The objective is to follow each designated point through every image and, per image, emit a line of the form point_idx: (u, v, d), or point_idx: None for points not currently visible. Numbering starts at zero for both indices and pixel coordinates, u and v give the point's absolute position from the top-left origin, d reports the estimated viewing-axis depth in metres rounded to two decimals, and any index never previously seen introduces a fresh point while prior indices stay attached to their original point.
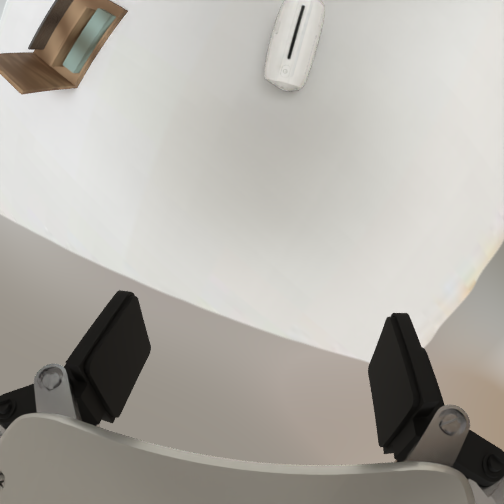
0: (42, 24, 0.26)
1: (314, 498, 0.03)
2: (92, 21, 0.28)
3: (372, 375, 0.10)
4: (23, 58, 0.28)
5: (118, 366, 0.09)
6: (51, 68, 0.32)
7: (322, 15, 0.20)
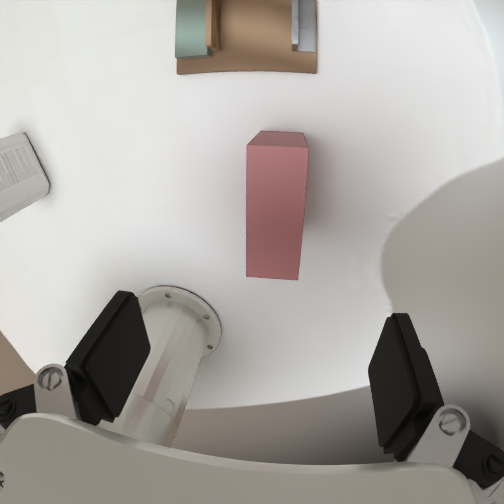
0: None
1: (315, 498, 0.03)
2: (200, 34, 0.21)
3: (372, 375, 0.10)
4: None
5: (118, 366, 0.09)
6: None
7: None
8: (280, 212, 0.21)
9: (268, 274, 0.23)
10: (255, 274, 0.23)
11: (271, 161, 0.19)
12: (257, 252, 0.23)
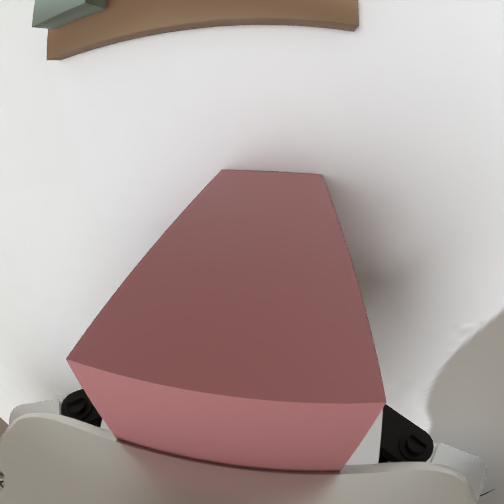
0: None
1: (315, 498, 0.03)
2: None
3: None
4: None
5: None
6: None
7: None
8: None
9: None
10: None
11: (189, 428, 0.04)
12: None
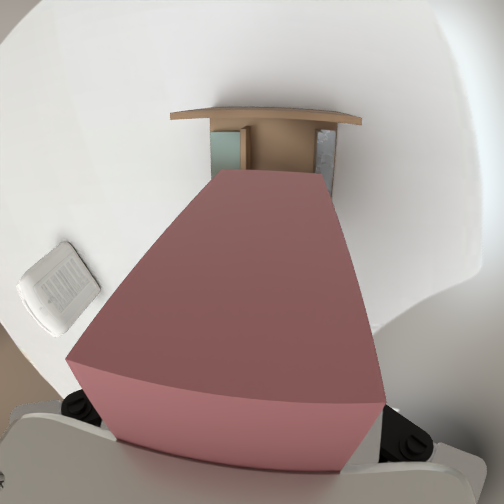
0: None
1: (314, 498, 0.03)
2: None
3: None
4: None
5: None
6: None
7: None
8: None
9: None
10: None
11: (188, 429, 0.04)
12: None
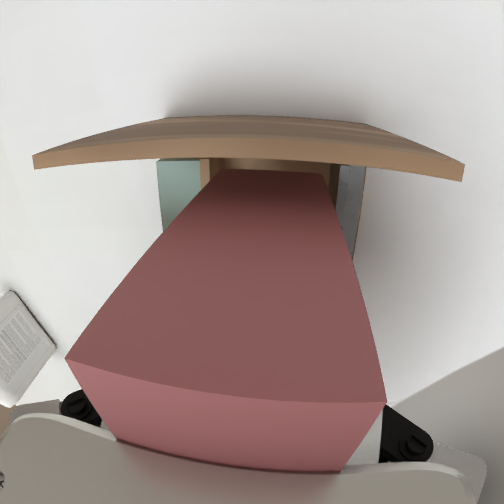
0: None
1: (315, 498, 0.03)
2: None
3: None
4: None
5: None
6: None
7: None
8: None
9: None
10: None
11: (188, 428, 0.04)
12: None
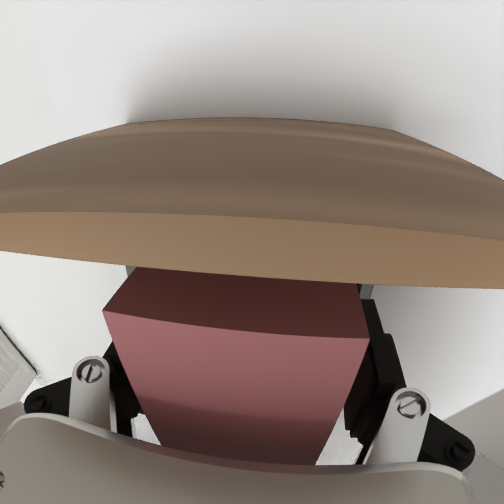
0: None
1: (315, 498, 0.03)
2: None
3: None
4: None
5: None
6: None
7: None
8: (249, 458, 0.06)
9: None
10: None
11: (205, 371, 0.05)
12: None
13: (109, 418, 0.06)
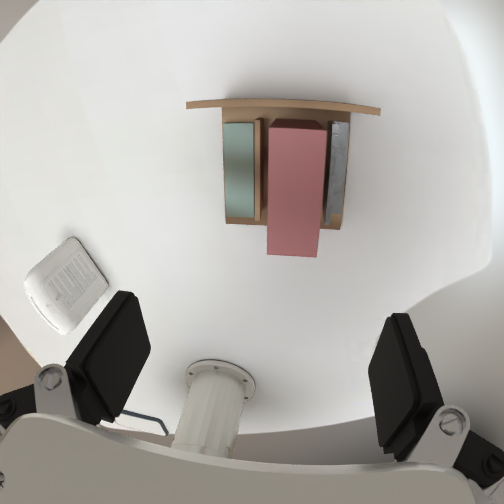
0: (331, 170, 0.27)
1: (315, 498, 0.03)
2: (247, 198, 0.32)
3: (372, 375, 0.10)
4: None
5: (118, 366, 0.09)
6: None
7: None
8: (300, 190, 0.22)
9: (288, 251, 0.24)
10: (275, 252, 0.24)
11: (292, 142, 0.20)
12: (278, 230, 0.23)
13: (75, 419, 0.06)
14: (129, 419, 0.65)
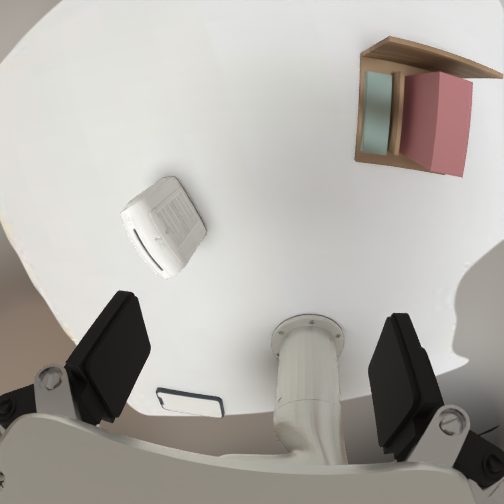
0: None
1: (315, 498, 0.03)
2: (382, 137, 0.32)
3: (372, 375, 0.10)
4: (454, 72, 0.24)
5: (118, 366, 0.09)
6: (410, 65, 0.27)
7: None
8: (456, 121, 0.22)
9: (445, 170, 0.24)
10: (437, 169, 0.25)
11: (453, 85, 0.20)
12: (440, 150, 0.24)
13: (76, 419, 0.06)
14: (182, 401, 0.64)
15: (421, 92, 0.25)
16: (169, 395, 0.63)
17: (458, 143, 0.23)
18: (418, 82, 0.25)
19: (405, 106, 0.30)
